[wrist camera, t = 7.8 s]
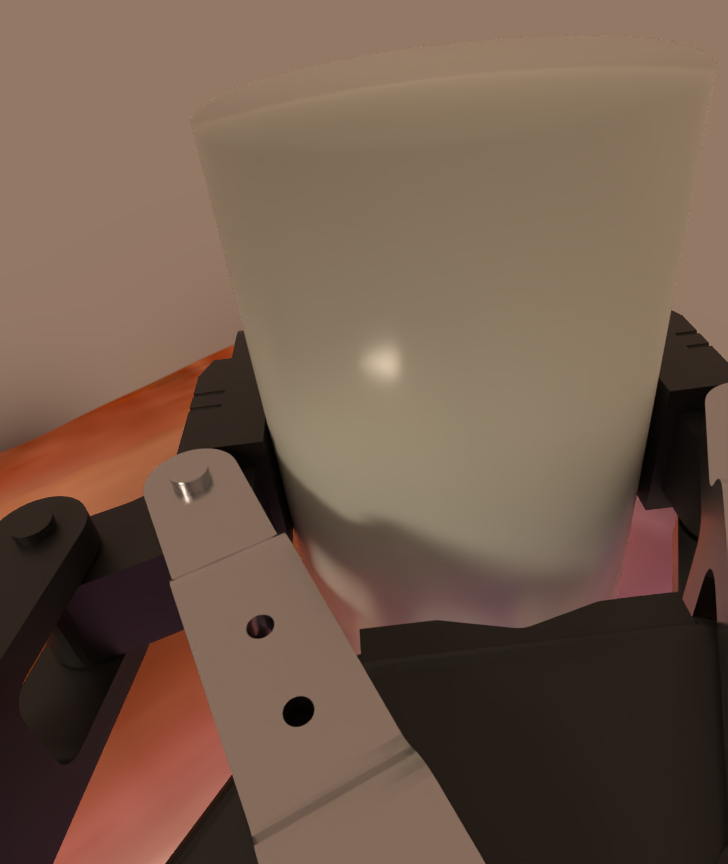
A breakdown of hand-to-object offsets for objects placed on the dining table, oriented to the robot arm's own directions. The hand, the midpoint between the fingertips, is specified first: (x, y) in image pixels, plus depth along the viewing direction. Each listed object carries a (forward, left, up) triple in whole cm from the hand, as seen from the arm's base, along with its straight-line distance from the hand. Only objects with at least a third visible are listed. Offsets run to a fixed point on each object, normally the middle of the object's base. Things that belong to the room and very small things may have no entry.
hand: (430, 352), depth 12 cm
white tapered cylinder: (+2, -2, -7) cm, 7 cm away
